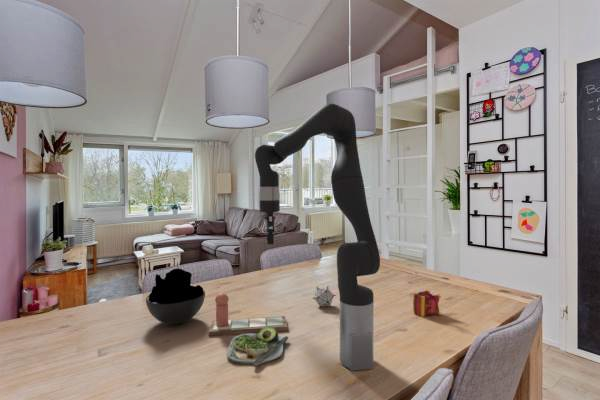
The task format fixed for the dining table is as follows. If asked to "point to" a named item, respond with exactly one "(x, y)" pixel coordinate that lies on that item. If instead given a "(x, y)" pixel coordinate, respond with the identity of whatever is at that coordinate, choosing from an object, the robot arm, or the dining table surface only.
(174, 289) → the coal bowl
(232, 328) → the board
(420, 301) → the book monster
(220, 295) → the pawn
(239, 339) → the salad plate
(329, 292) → the game die
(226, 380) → the dining table surface
